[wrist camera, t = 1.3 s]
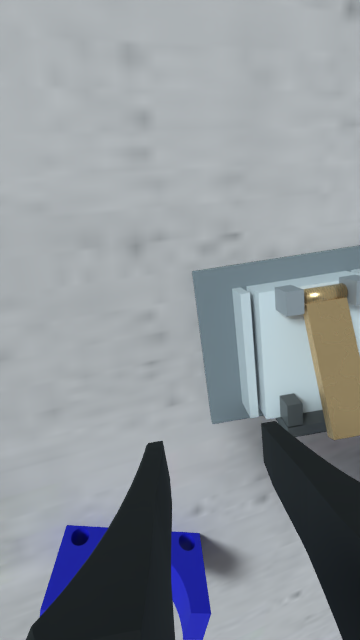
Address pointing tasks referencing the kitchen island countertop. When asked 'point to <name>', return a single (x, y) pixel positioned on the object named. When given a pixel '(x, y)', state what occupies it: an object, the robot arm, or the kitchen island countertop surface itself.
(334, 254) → the heat-sink board
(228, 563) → the kitchen island countertop surface
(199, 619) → the blue half clamp bracket
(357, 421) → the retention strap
